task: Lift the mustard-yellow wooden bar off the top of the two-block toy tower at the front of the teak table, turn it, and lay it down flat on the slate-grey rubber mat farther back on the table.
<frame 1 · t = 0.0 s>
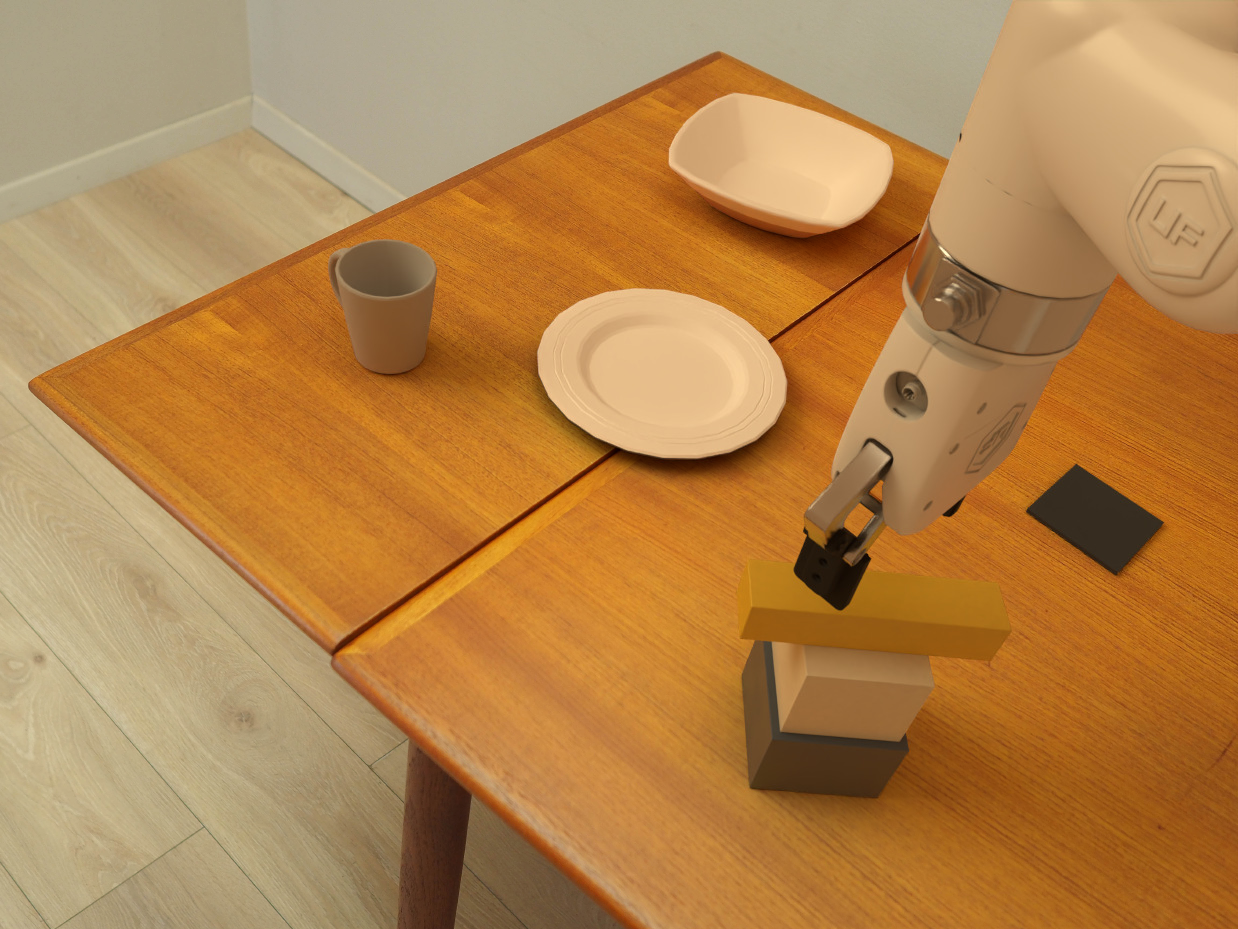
hand: (876, 542, 55), 17 cm above the table, tool pointing down, fingers open, 9 cm apart
tower: (807, 734, 67), on the table
mat: (1094, 518, 83), on the table
cup: (379, 347, 87), on the table
bar: (862, 626, 58), point 12 cm above the table, touching tower
plate: (659, 383, 88), on the table
bowl: (771, 200, 110), on the table
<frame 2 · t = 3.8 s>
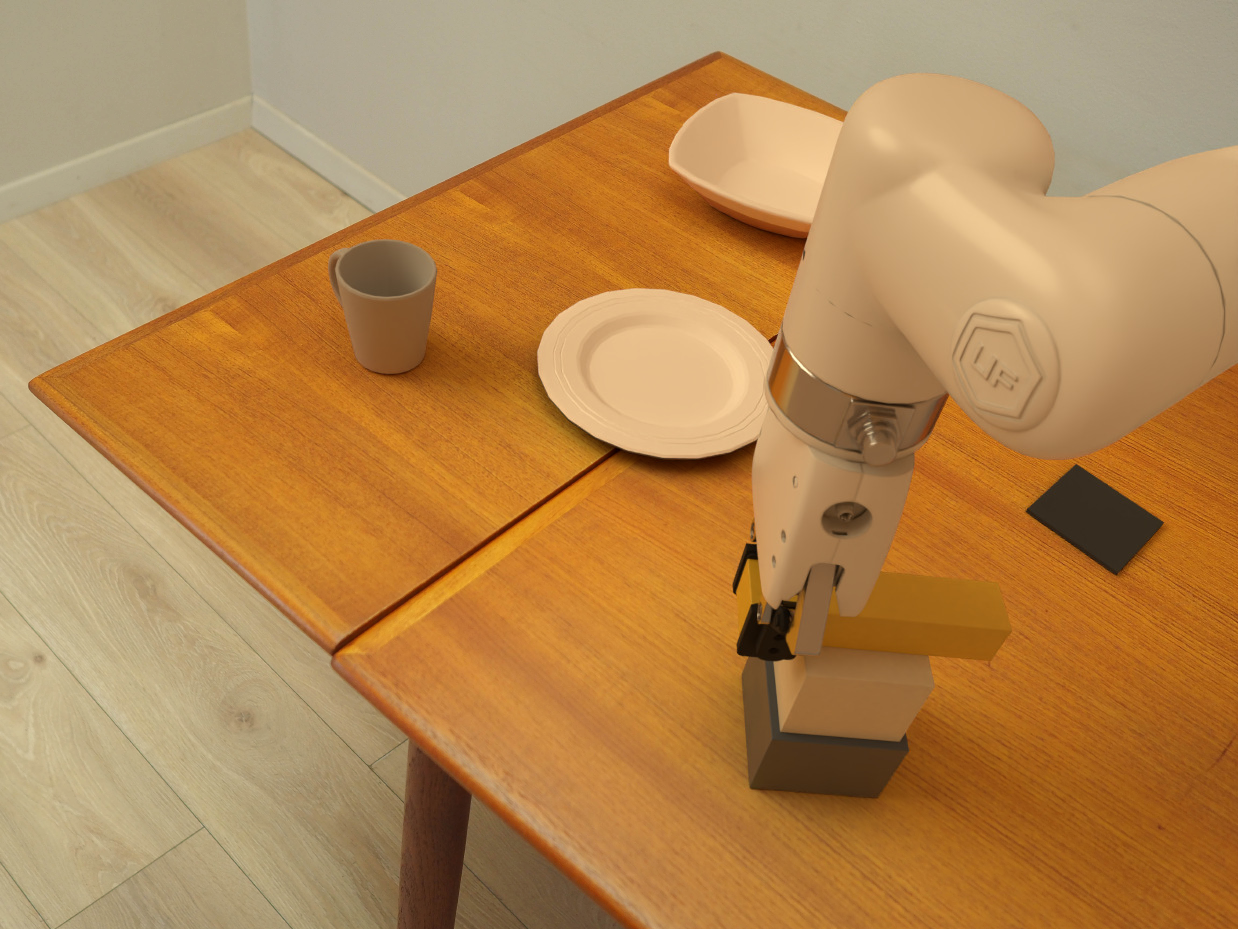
hand: (762, 621, 58), 12 cm above the table, tool pointing down, fingers closed on bar, 3 cm apart
bar: (862, 626, 58), point 12 cm above the table, touching gripper, tower
everything else where it was.
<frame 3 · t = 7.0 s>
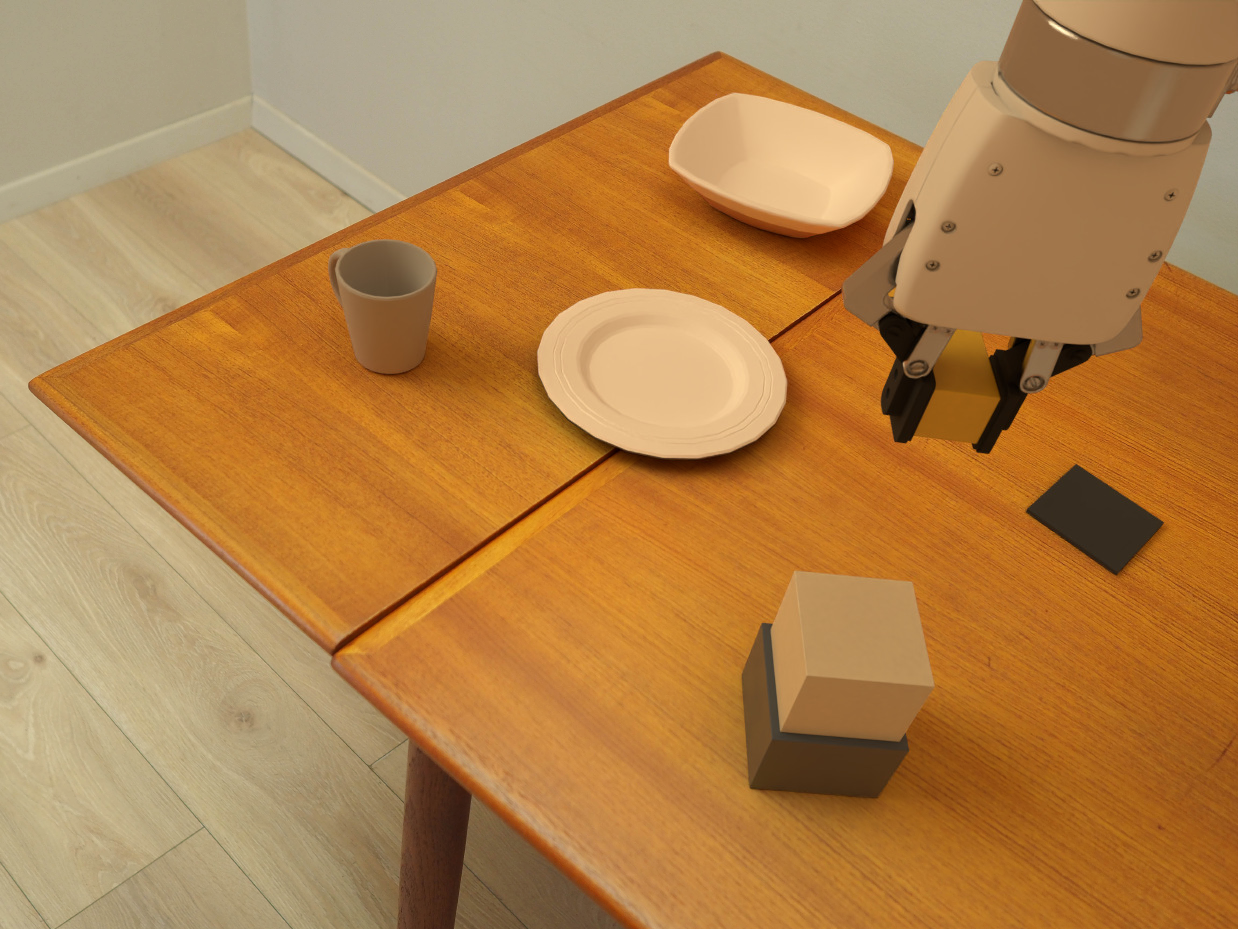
hand: (937, 425, 51), 25 cm above the table, tool pointing down, fingers closed on bar, 3 cm apart
bar: (922, 345, 54), point 25 cm above the table, touching gripper
everything else where it was.
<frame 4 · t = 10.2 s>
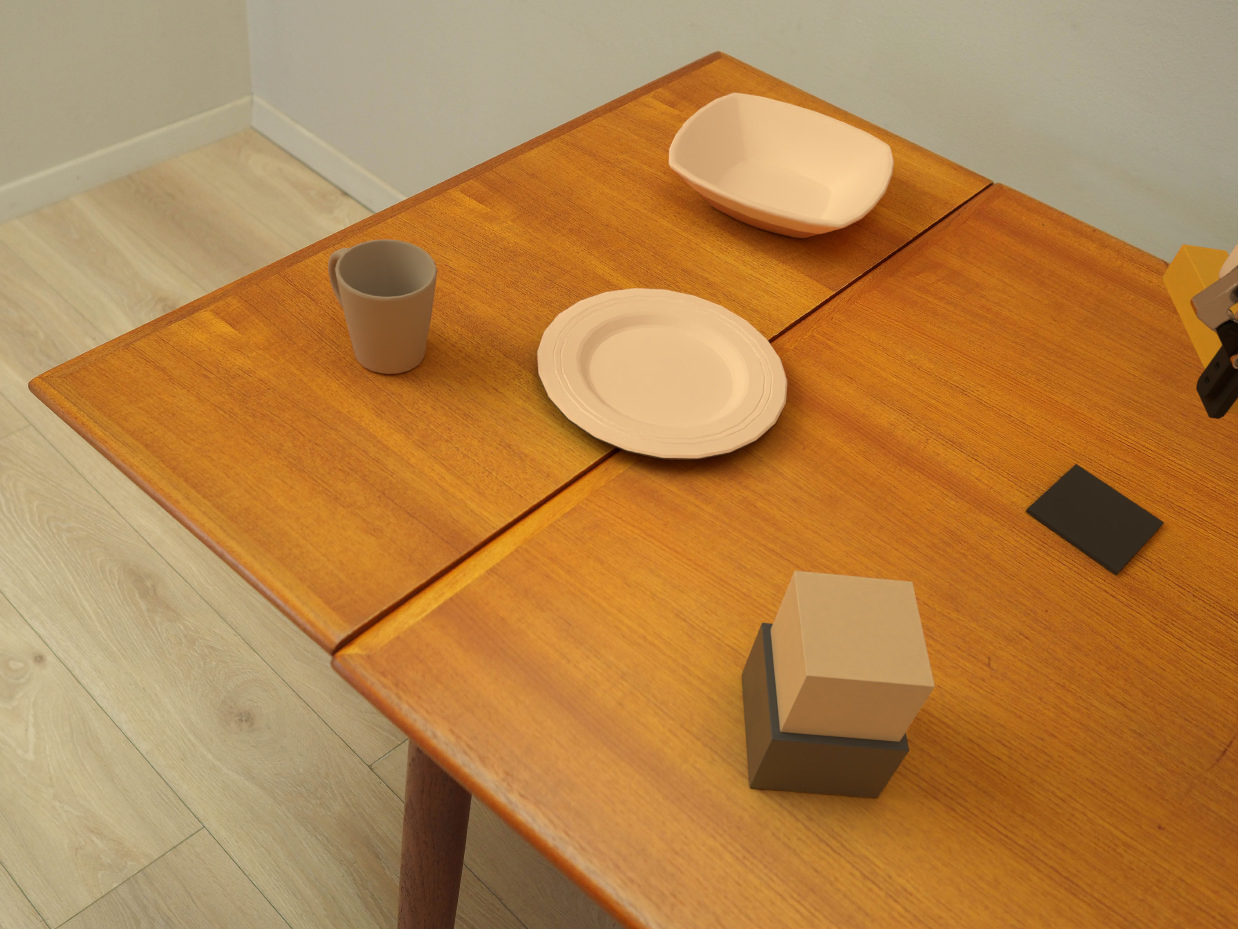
bar: (1213, 344, 70), point 18 cm above the table, touching gripper
everything else where it was.
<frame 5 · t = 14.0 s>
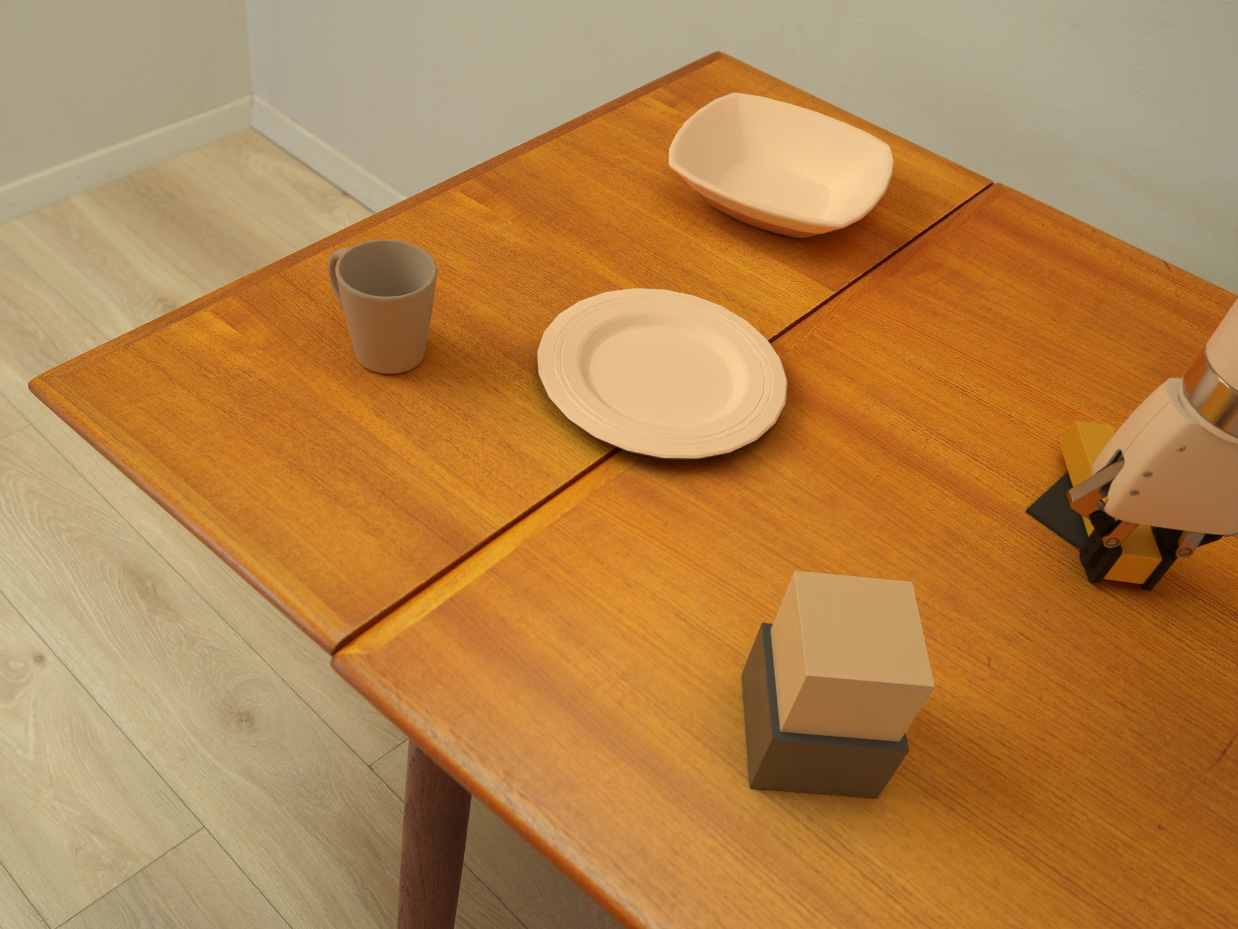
hand: (1115, 570, 79), 0 cm above the table, tool pointing down, fingers closed on bar, 3 cm apart
bar: (1098, 511, 83), point 1 cm above the table, touching gripper
everything else where it was.
when the fingers open (1 cm above the table, at t = 17.1 s): bar drops 1 cm, resting on mat.
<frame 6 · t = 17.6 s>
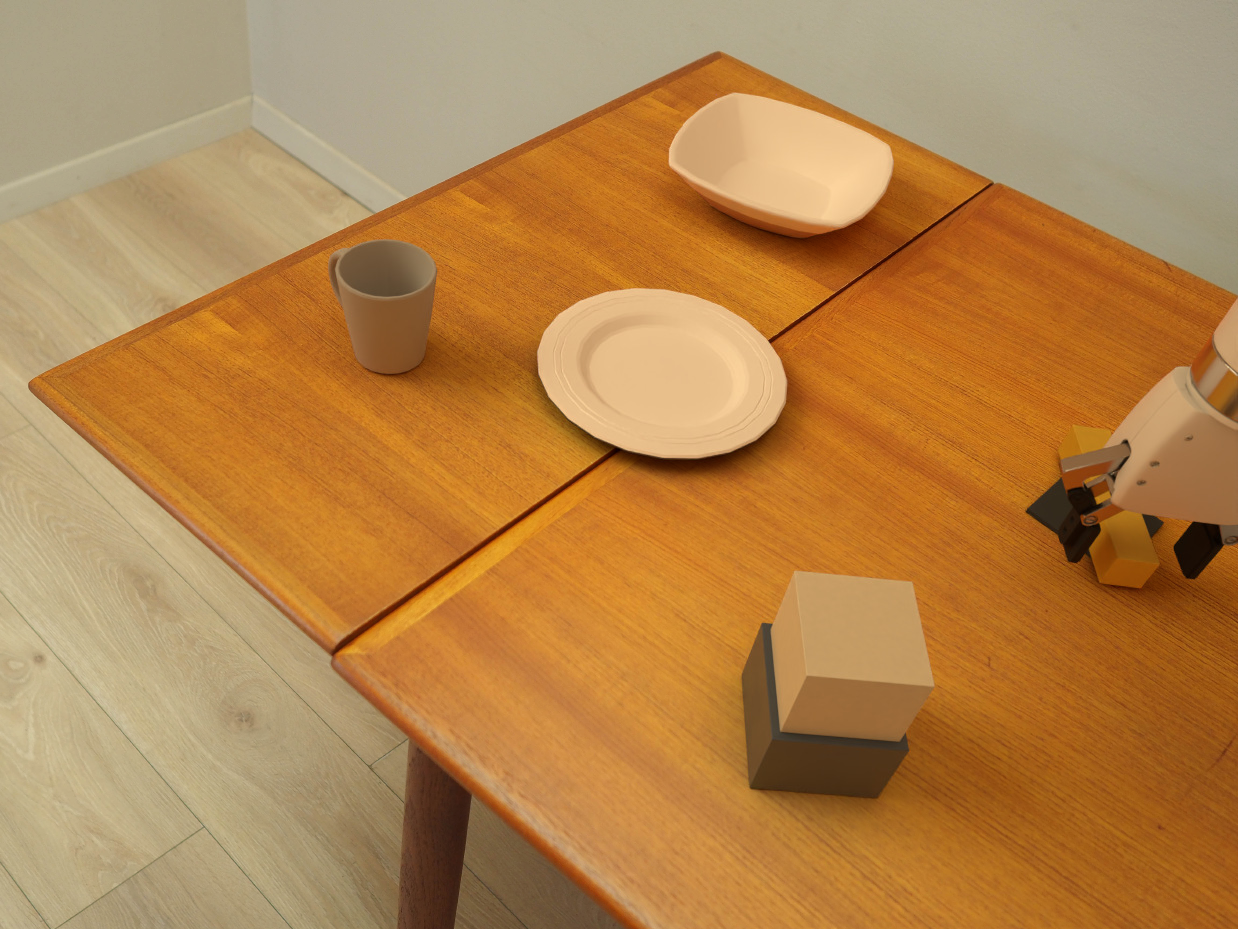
hand: (1125, 555, 78), 2 cm above the table, tool pointing down, fingers open, 8 cm apart
bar: (1096, 515, 83), resting on mat
everything else where it was.
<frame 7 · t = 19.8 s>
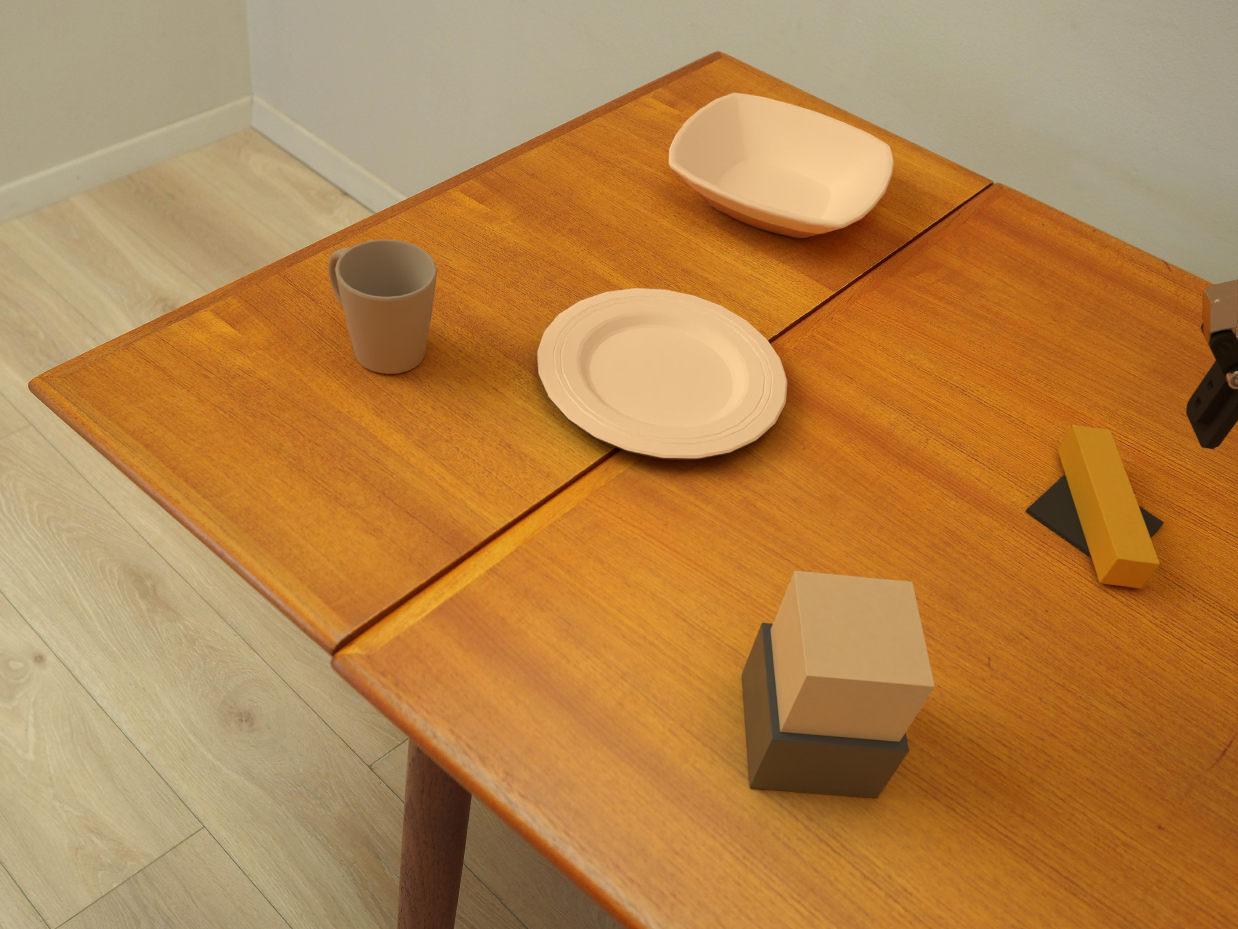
nothing on the table moved.
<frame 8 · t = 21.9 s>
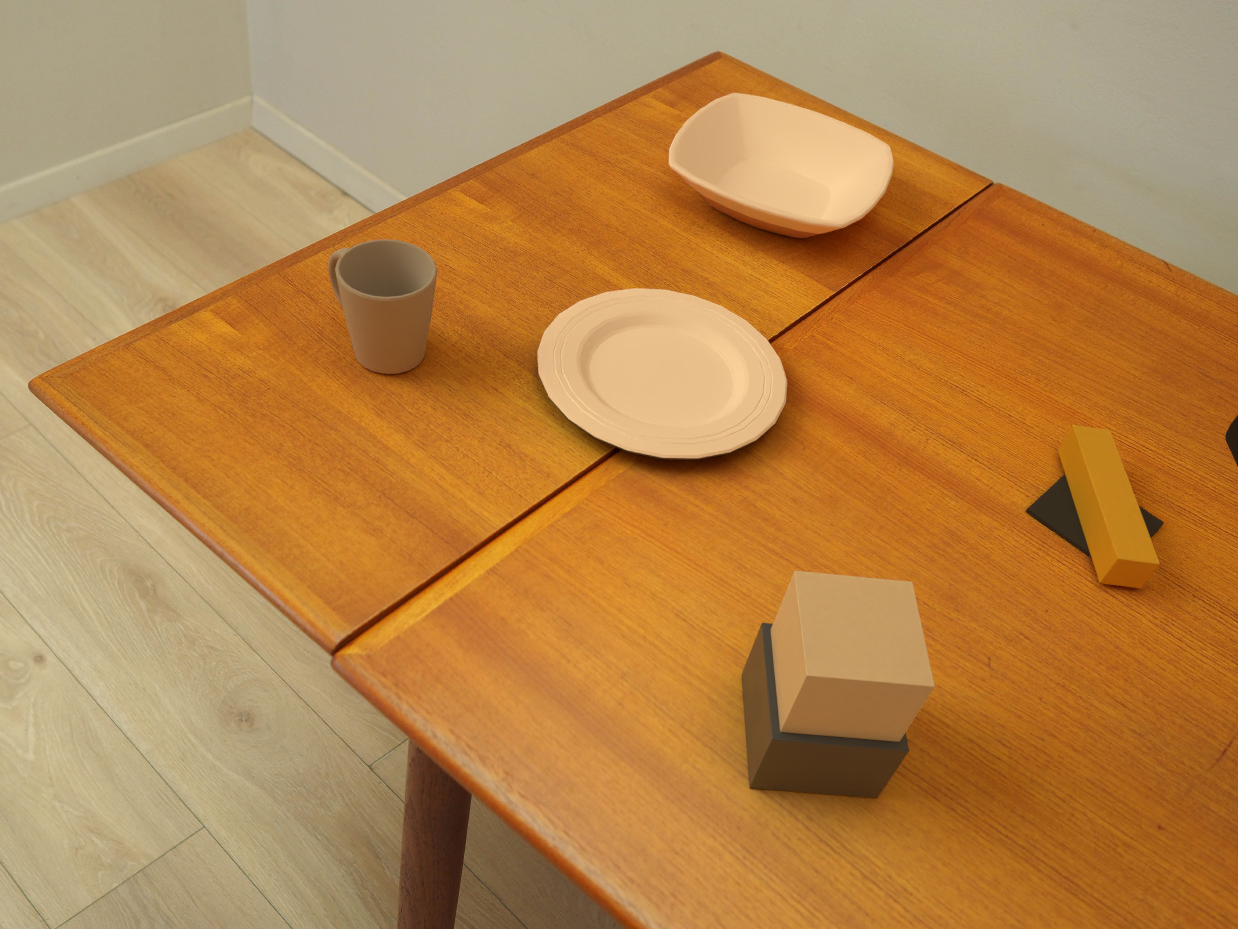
nothing on the table moved.
at the end: bar inside the target area on the mat (0.0 cm from its centre), point 0.4 cm above the mat's base; bar touching mat; bar tilted 0° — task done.
